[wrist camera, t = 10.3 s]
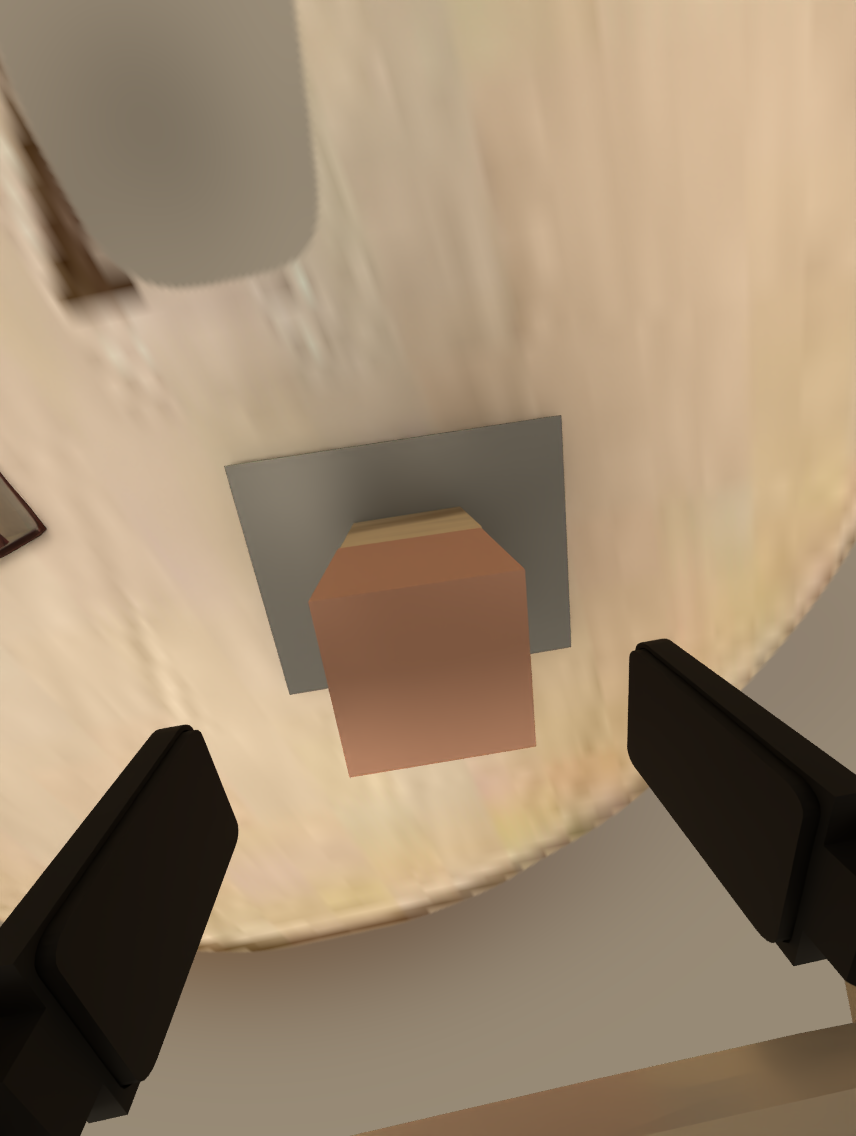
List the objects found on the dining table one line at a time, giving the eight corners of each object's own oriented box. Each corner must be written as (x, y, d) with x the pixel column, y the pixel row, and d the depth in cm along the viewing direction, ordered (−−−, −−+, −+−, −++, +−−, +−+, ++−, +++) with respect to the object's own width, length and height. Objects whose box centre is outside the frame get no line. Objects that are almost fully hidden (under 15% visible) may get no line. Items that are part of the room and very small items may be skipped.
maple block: (353, 523, 22) (339, 549, 17) (459, 506, 23) (481, 526, 17) (373, 621, 24) (366, 675, 18) (471, 604, 24) (495, 653, 19)
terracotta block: (337, 548, 17) (308, 601, 11) (480, 527, 17) (524, 569, 11) (363, 674, 18) (349, 777, 13) (492, 654, 19) (536, 746, 13)
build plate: (231, 465, 22) (224, 466, 21) (554, 416, 23) (561, 415, 22) (293, 685, 26) (289, 694, 25) (565, 639, 27) (571, 646, 26)
